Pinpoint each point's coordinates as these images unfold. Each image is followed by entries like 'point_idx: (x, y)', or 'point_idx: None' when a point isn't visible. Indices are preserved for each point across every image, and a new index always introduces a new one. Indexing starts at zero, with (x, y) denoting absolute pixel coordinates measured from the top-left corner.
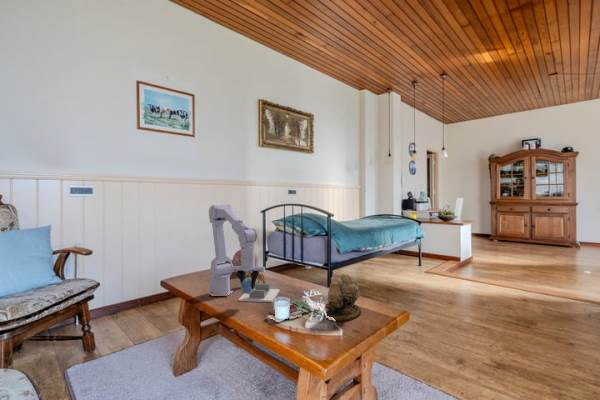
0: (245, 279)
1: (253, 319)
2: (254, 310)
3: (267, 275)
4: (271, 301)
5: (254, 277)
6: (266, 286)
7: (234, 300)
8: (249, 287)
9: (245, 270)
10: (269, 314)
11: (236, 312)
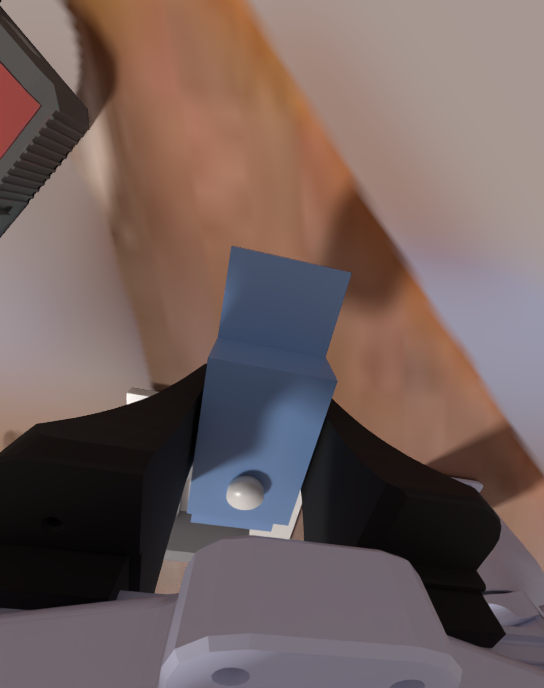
0: (295, 473)
1: (199, 103)
2: (218, 274)
3: None
4: (135, 391)
5: (107, 415)
6: (180, 539)
7: None
8: (225, 298)
9: (310, 563)
10: (61, 89)
11: (328, 252)
